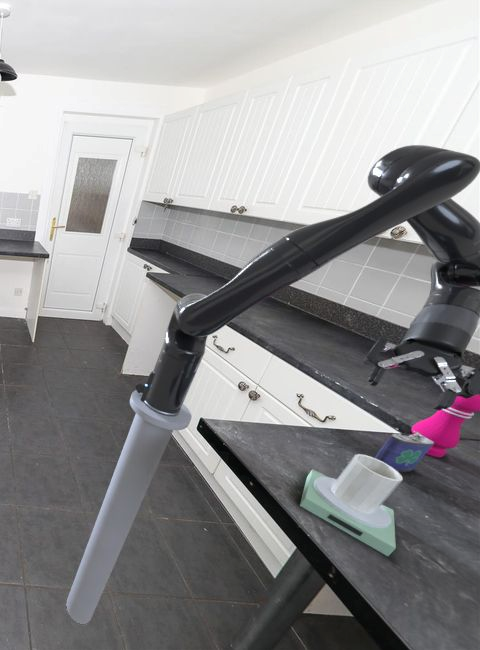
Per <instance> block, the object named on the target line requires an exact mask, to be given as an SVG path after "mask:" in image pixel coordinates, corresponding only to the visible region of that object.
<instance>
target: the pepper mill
mask: <svg viewBox="0 0 480 650" xmlns="http://www.w3.org/2000/svg"><path fill="white" fill-rule="evenodd" d="M475 412H480V393H479V394H477V395H475V396H472V397H471V398H468V399H466V398H463V397H460V396H457V397H456V399H455V401H454V403H453V405H452V406H451V407H449V408H447V409H442V410H440V411H439V410H437V411H436V412H435V413H434V414H433V415H432V416H430V417H427V418H425V419H422V420H419V421H418V422H416V423H415V424H414V425H412V427H411V432H412V433H411V434H412V435H414V434H416V433H415V432H418V433H419V434H421V435H422V436H424V437H426V438H428V439H429V440H431V441H433V442H434V445H433V446H432V447H431V448H430V449H429V450H428V451H427V453H426V454H425V455H428V456H431V457H434V458H442V457H444V456H445V455H446V453H448V451H447V450H448V449H449V450H450V449H454V448H456V447H457V446H458V444H459V443H460V438H461V426H462V425H463V423H464V422H465V421H466V420H467V419H468V420H469V419H472V417H473V416H474V415H475ZM414 431H415V432H414Z"/></svg>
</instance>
